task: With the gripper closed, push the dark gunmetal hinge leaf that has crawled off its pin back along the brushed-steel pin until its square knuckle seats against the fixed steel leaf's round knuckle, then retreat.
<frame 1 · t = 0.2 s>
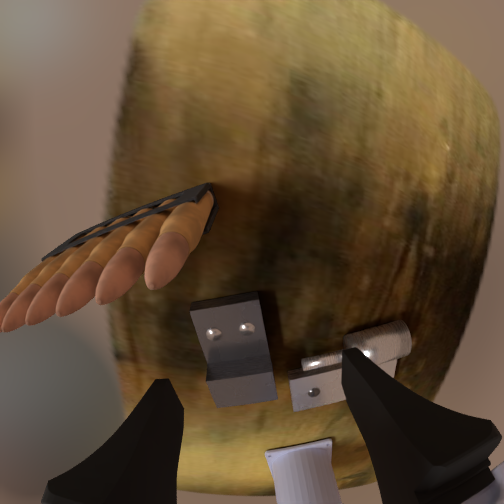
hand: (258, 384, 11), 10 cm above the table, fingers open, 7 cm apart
loose leaf: (235, 354, 21), point 2 cm above the table, slide at 6.0 cm
ammunition clip: (141, 220, 19), on the table
fixed leaf: (342, 342, 23), on the table
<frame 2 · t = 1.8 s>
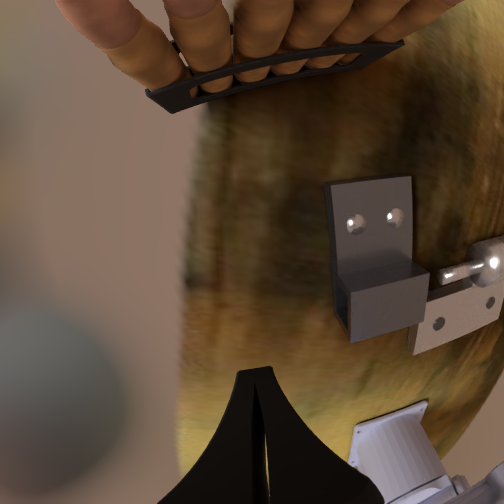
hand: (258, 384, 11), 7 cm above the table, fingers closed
loose leaf: (380, 255, 15), point 2 cm above the table, slide at 6.0 cm
ammunition clip: (265, 69, 13), on the table
fixed leaf: (466, 257, 17), on the table
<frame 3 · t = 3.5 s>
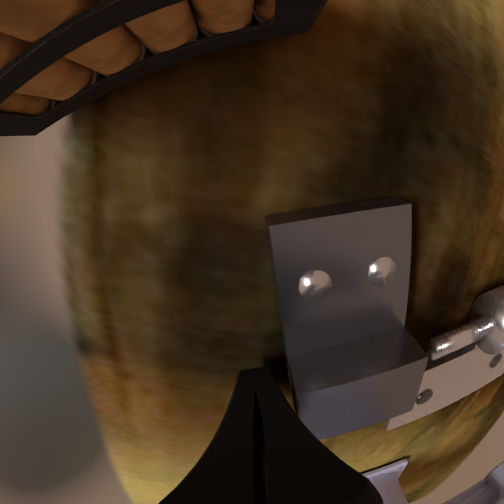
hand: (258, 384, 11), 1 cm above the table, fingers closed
loose leaf: (353, 330, 10), point 2 cm above the table, slide at 5.2 cm, touching gripper
ammunition clip: (150, 51, 8), on the table
fixed leaf: (470, 309, 12), on the table
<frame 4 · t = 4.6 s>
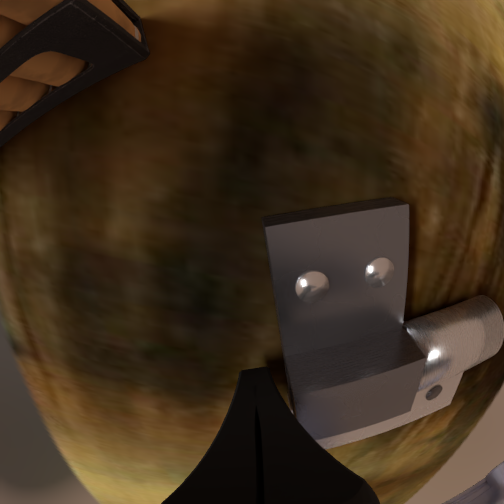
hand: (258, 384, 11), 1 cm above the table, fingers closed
loose leaf: (351, 330, 10), point 2 cm above the table, slide at 0.0 cm, touching gripper
ammunition clip: (30, 103, 8), on the table
fixed leaf: (388, 338, 12), on the table
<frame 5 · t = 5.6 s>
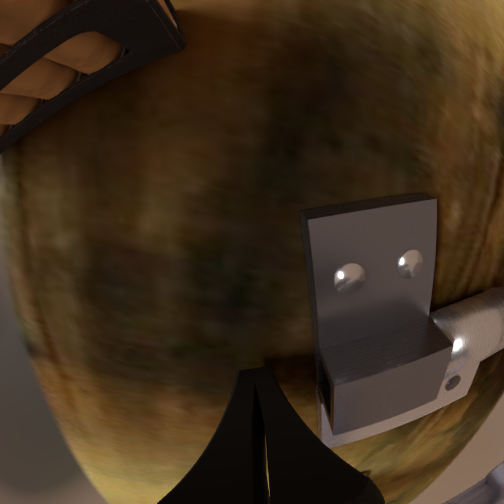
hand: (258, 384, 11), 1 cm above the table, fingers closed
loose leaf: (384, 321, 10), point 2 cm above the table, slide at 0.0 cm
ammunition clip: (53, 93, 8), on the table
fixed leaf: (413, 329, 12), on the table
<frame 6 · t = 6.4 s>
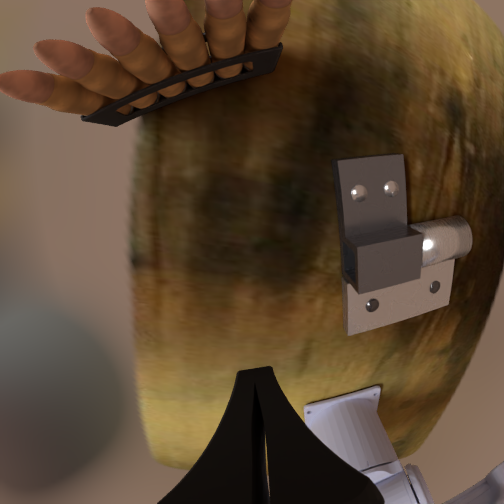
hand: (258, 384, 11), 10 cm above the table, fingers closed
loose leaf: (380, 220, 18), point 2 cm above the table, slide at 0.0 cm
ammunition clip: (187, 83, 16), on the table
fixed leaf: (400, 240, 20), on the table
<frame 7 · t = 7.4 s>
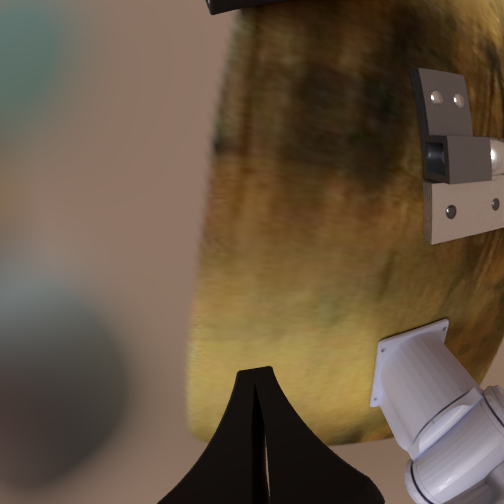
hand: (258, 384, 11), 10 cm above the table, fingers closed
loose leaf: (454, 124, 15), point 2 cm above the table, slide at 0.0 cm
fixed leaf: (465, 154, 18), on the table
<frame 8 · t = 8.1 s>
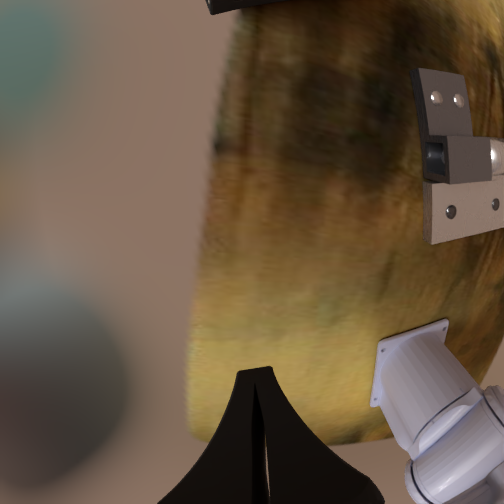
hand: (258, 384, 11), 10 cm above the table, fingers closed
loose leaf: (454, 124, 15), point 2 cm above the table, slide at 0.0 cm
fixed leaf: (465, 154, 18), on the table
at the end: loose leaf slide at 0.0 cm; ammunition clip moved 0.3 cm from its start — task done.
